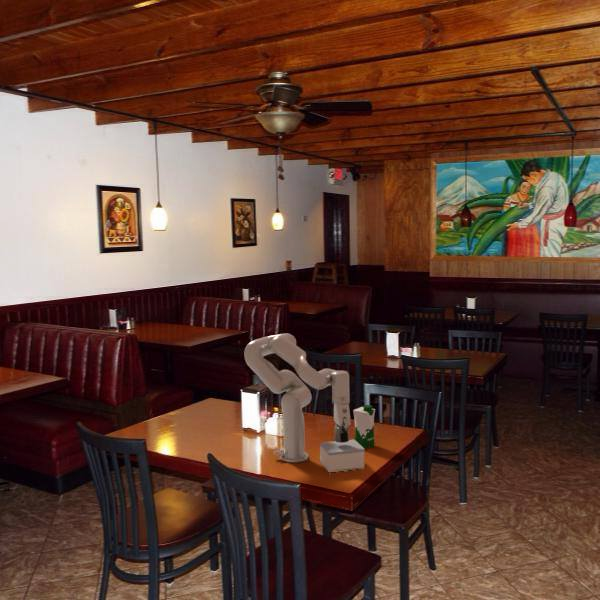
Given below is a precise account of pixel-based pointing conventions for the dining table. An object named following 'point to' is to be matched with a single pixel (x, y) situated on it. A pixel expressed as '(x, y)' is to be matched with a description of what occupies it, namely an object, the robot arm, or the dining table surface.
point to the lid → (341, 447)
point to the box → (342, 461)
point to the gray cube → (337, 433)
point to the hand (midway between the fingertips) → (341, 438)
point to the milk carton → (364, 426)
